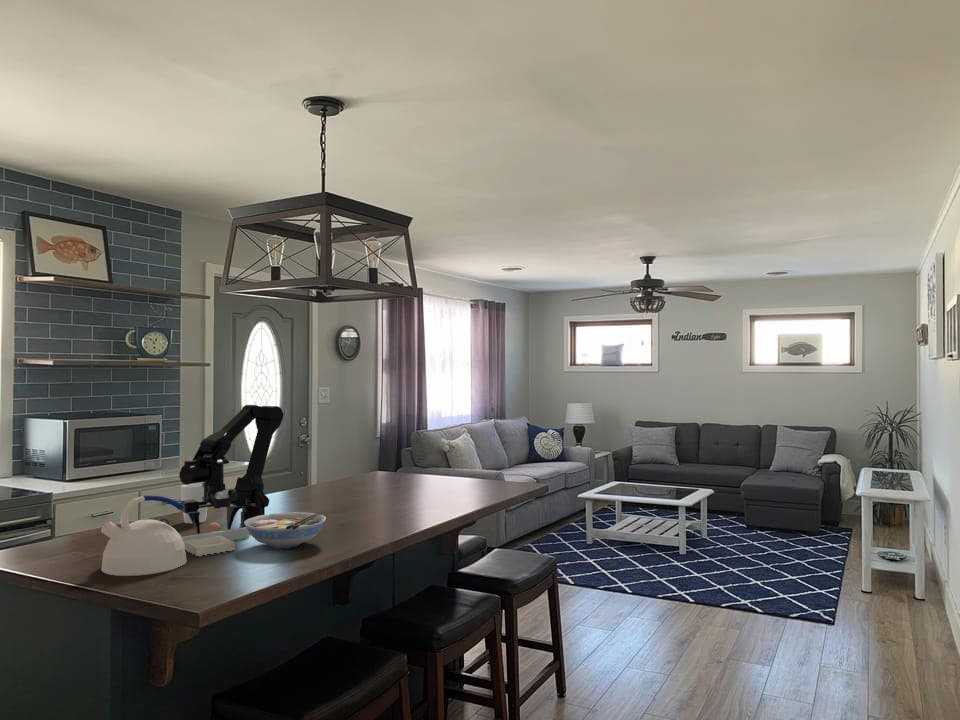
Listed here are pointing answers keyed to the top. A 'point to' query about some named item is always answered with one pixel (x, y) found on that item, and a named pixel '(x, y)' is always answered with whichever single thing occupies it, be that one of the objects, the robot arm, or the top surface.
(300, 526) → the ramen bowl
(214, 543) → the dish
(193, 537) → the wall
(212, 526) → the ball
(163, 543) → the kettle
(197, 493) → the cup
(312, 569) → the top surface
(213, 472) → the robot arm
